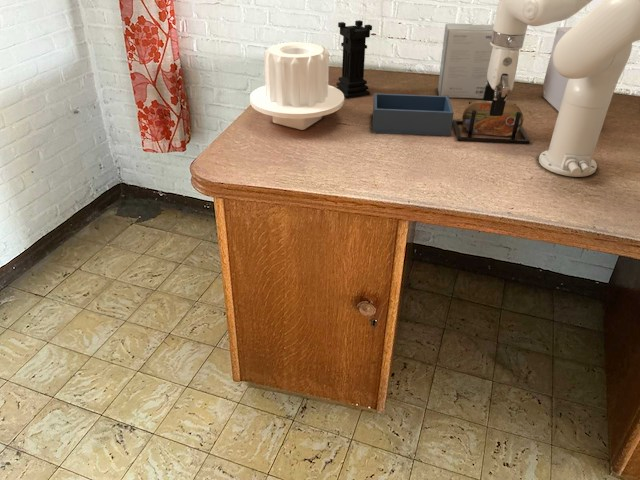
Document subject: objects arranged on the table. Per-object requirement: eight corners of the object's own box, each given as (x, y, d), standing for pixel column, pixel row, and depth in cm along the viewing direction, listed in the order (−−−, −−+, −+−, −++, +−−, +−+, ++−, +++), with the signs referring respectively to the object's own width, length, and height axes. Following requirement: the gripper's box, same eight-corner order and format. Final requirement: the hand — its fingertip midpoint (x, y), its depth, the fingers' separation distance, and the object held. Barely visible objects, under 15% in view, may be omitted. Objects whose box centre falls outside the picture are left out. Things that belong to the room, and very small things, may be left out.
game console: (577, 130, 144) (599, 54, 133) (539, 95, 166) (556, 27, 155) (598, 130, 144) (623, 54, 133) (558, 94, 167) (576, 27, 155)
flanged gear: (359, 114, 152) (363, 45, 141) (312, 147, 134) (313, 70, 123) (284, 98, 162) (282, 32, 151) (232, 126, 144) (226, 53, 133)
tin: (459, 132, 142) (465, 101, 137) (460, 127, 145) (465, 97, 140) (519, 138, 139) (526, 107, 135) (518, 133, 142) (526, 102, 137)
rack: (529, 144, 137) (535, 117, 133) (457, 140, 138) (462, 114, 134) (519, 125, 146) (524, 100, 142) (452, 122, 148) (456, 97, 144)
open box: (450, 136, 140) (453, 112, 137) (372, 132, 142) (373, 109, 138) (445, 118, 150) (448, 96, 147) (372, 115, 151) (374, 93, 148)
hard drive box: (487, 91, 169) (499, 24, 157) (490, 99, 162) (504, 30, 151) (436, 89, 170) (445, 22, 158) (438, 97, 164) (447, 28, 152)
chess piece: (334, 90, 168) (336, 22, 157) (357, 86, 171) (360, 19, 160) (346, 98, 162) (349, 28, 151) (369, 94, 165) (374, 26, 154)
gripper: (531, 50, 121) (514, 122, 131) (515, 30, 135) (500, 96, 145) (498, 49, 122) (482, 120, 132) (485, 28, 136) (472, 94, 146)
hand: (492, 107), depth 139 cm, fingers open, 9 cm apart
